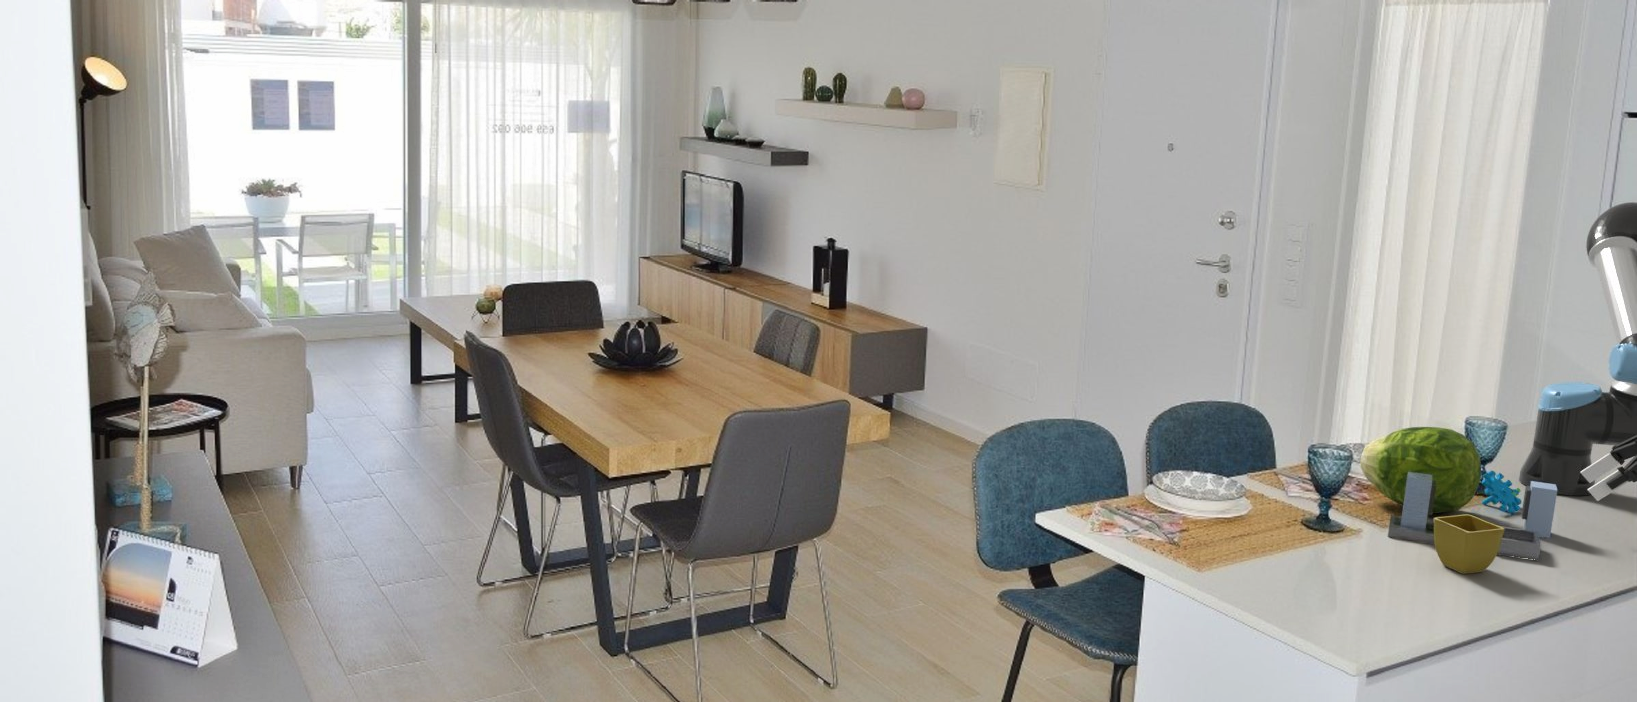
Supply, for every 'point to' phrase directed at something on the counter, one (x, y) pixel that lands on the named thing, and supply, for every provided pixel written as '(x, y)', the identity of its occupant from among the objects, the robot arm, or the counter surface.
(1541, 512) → the blue block
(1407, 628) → the counter surface
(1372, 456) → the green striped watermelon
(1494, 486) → the blue splash shape
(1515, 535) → the grey piece
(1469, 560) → the flower pot
